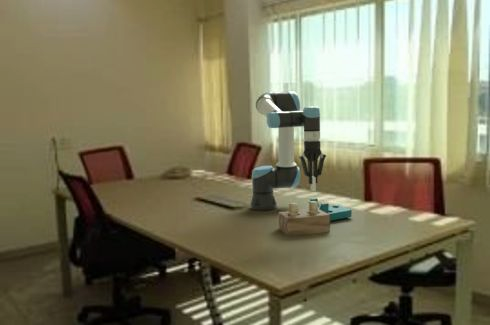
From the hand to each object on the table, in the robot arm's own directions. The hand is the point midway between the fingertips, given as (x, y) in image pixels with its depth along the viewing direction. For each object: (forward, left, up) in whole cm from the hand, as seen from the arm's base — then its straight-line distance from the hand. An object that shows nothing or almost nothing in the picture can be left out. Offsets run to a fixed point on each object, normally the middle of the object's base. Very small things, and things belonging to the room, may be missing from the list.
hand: (313, 190), depth 247 cm
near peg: (0, -10, -14) cm, 17 cm away
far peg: (0, 0, -14) cm, 14 cm away
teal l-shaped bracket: (-15, +15, -19) cm, 29 cm away
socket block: (0, -5, -19) cm, 19 cm away
